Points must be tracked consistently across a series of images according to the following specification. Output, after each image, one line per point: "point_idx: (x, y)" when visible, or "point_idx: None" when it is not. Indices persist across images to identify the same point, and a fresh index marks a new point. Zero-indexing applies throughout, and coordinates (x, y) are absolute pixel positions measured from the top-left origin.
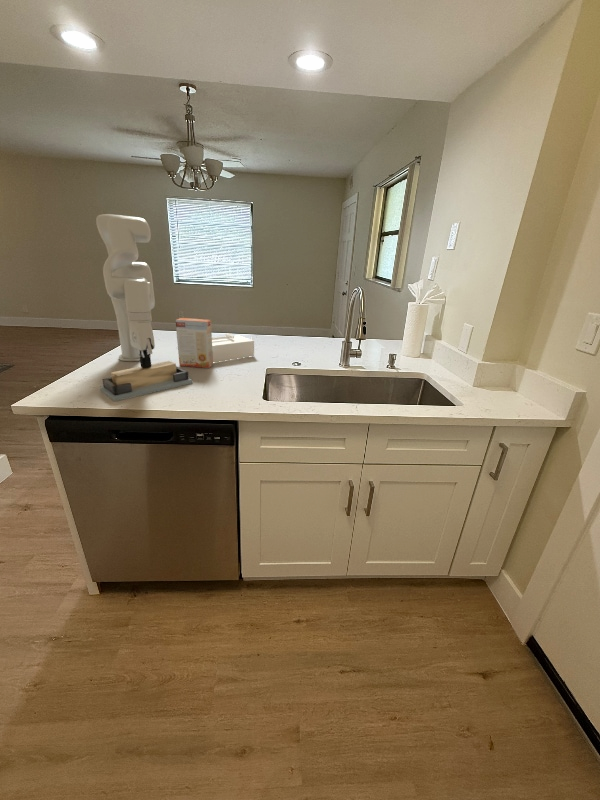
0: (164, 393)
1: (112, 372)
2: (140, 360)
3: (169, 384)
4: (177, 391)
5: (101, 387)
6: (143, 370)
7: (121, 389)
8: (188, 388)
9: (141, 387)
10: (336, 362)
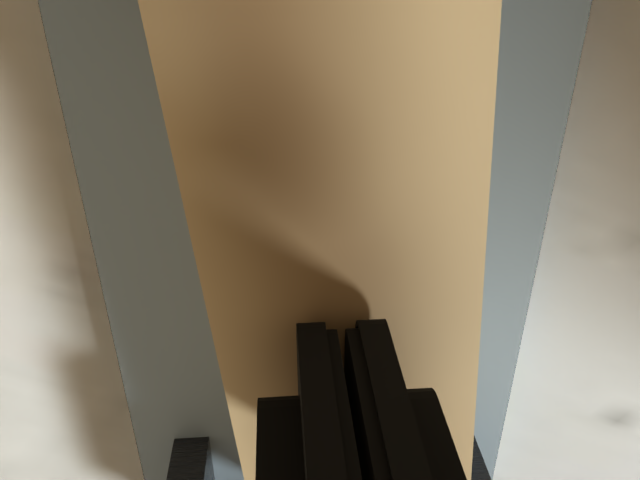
0: (3, 255)
1: None
2: (388, 429)
3: (130, 379)
4: (6, 368)
5: None
6: (202, 286)
7: None
8: (46, 460)
9: None
10: None
